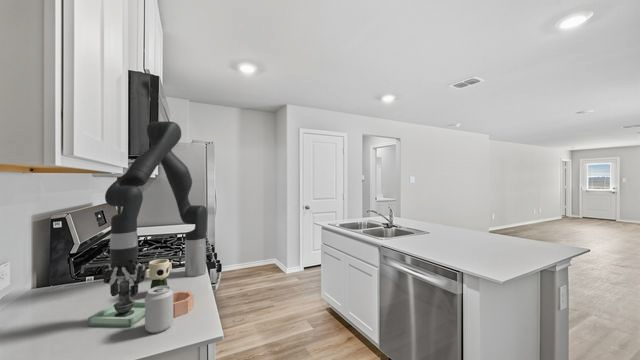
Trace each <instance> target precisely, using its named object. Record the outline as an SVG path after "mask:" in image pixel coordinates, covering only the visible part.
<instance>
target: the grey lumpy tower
mask: <svg viewBox="0 0 640 360" xmlns="http://www.w3.org/2000/svg"><path fill="white" fill-rule="evenodd" d="M118 283H119V292H118V300H117V301H118V302H117V301H116V302H117V303H115V302H114V303H115V304H114V303H113V304H114V306H113V307H115V310H116V311H117V312H118V313H117V314H115V317H127V316H130V315H131V314H133V313H134V310H131V309H132V307H133V306H134V303H135V301H136V300H135V299H131V298H132V297H130V286H131V284H130V282H129V280H127V279H126V277H124V278H123V279H122V281H120V282H118Z"/></svg>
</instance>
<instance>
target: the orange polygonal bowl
mask: <svg viewBox="0 0 640 360" xmlns="http://www.w3.org/2000/svg"><path fill="white" fill-rule="evenodd" d="M194 296H195V295H194V294H193V293H192V292H191V290H190V291H188V290H187V291H185V290H183V291H182V290H181V291H173V319H174V318H177V317H180V316H183V315H187V314H188V313H189V312H191V311H192V310H194V307H195V306H194Z"/></svg>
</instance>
